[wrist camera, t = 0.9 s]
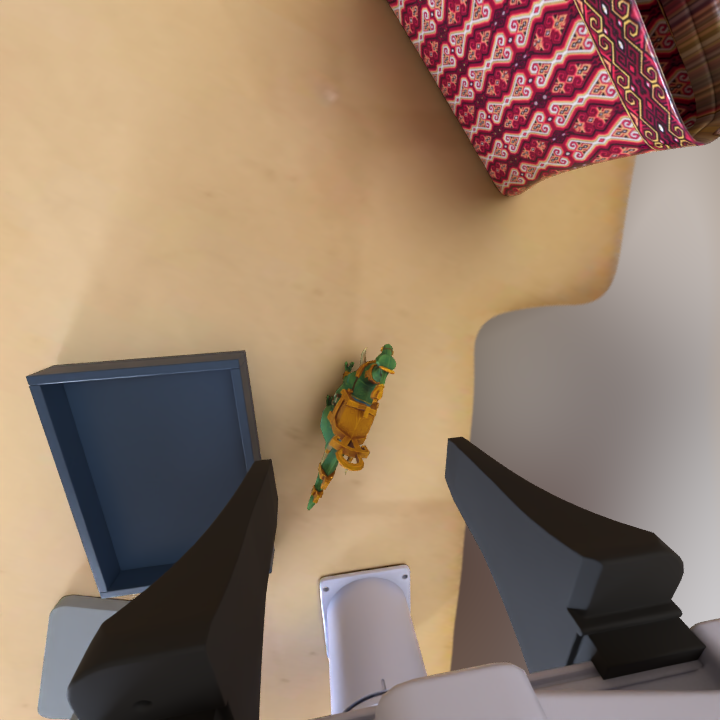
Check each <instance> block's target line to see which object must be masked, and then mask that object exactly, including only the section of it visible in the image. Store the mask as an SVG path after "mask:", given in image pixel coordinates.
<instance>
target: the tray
mask: <svg viewBox="0 0 720 720" xmlns="http://www.w3.org/2000/svg"><path fill="white" fill-rule="evenodd" d="M26 378H27V381H28V384H29V385H30V386H29V388H30V391H31V394H32V396H33V399H34V402H35V405H36V408H37V411H38V414H39V417H40V420H41V423H42V426H43V429H44V432H45V435H46V438H47V441H48V444H49V446H50V449H51V452H52V455H53V458H54V461H55V464H56V467H57V470H58V473H59V476H60V479H61V482H62V485H63V488H64V491H65V493H66V496H67V499H68V502H69V505H70V508H71V511H72V514H73V517H74V520H75V523H76V526H77V529H78V532H79V535H80V538H81V540H82V543H83V546H84V549H85V552H86V555H87V558H88V561H89V564H90V567H91V570H92V573H93V576H94V579H95V582H96V585H97V588H98V590H99V593H100V596H101V598H102V599H104V598H110V597H117V596H124V595H130V594H137V593H142V592H143V591H145V590H146V589H147V588H148V587H149V586H151V585H152V584H153V583H154V582H155V581H156V580H158V579H159V578H160V577H161V576H162V575H163V574H164V573H165V572H167V571H168V570H169V569H170V568H171V567H172V566H173V565H174V564H175V563H176V562H177V561H178V560H179V559H180V558H181V557H182V556H183V555H184V554H185V553H186V552H187V551H188V550H189V549H190V548H191V547H192V546H193V545H194V544H195V543H196V542H197V540H198V539H199V538H200V537H201V536H202V535H203V534H204V533H205V531H206V530H207V529H208V528H209V527H210V525H211V524H212V523H213V522H214V520H215V519H216V518H217V517H218V515H219V514H220V513H221V511H222V510H223V509H224V507H225V506H226V505H227V503H228V502H229V500H230V499H231V498H232V496H233V495H234V493H235V492H236V490H237V489H238V487H239V486H240V484H241V483H242V481H243V479H244V478H245V476H246V475H247V473H248V471H249V469H250V468H251V466H252V464H253V463H254V462H255V461H259V460H261V454H260V447H259V440H258V434H257V427H256V420H255V413H254V406H253V400H252V393H251V386H250V379H249V373H248V366H247V359H246V352H245V351H232V352H219V353H206V354H194V355H181V356H168V357H155V358H142V359H130V360H117V361H104V362H91V363H78V364H65V365H54V366H51V367H49V368H46V369H44V370H41V371H38V372H36V373H33V374H31V375H28V376H26ZM274 551H275V549H274V546H273V552H272V558H271V564H270V571H269V573H271V572H272V565H273V558H274Z"/></svg>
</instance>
